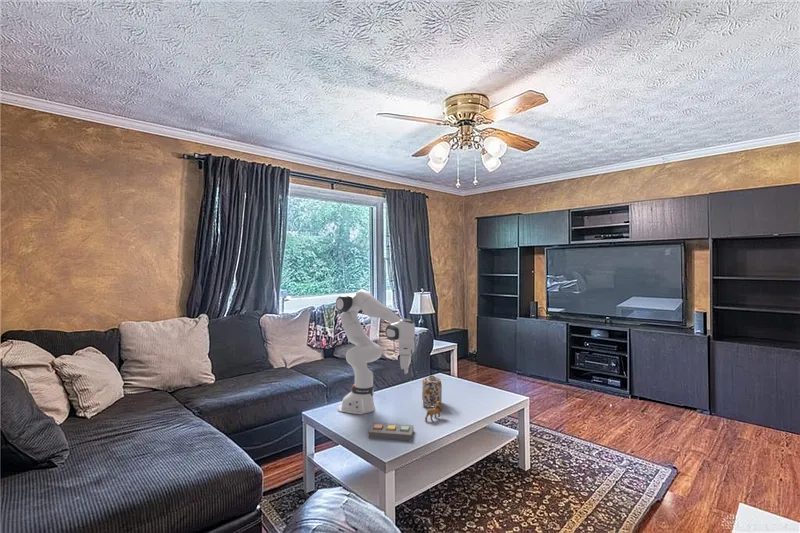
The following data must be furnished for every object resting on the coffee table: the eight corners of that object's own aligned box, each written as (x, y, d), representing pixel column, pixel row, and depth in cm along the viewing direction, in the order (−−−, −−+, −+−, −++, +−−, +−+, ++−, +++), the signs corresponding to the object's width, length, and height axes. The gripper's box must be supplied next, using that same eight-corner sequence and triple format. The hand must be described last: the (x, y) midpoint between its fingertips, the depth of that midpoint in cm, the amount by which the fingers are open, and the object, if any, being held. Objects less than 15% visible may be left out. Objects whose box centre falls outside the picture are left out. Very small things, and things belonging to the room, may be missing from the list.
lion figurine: (436, 414, 232) (436, 399, 232) (444, 416, 229) (444, 401, 229) (422, 422, 220) (422, 406, 220) (430, 424, 217) (430, 408, 217)
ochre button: (387, 435, 202) (387, 428, 202) (388, 432, 206) (388, 425, 206) (394, 436, 202) (394, 428, 202) (395, 432, 206) (395, 425, 206)
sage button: (400, 436, 201) (400, 429, 201) (401, 433, 205) (401, 425, 205) (408, 436, 201) (408, 429, 201) (408, 433, 205) (409, 426, 205)
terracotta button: (373, 434, 203) (373, 427, 203) (375, 431, 207) (375, 424, 207) (381, 435, 202) (381, 427, 202) (382, 431, 206) (382, 424, 206)
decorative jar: (441, 407, 243) (442, 379, 243) (422, 407, 243) (423, 378, 243) (440, 401, 255) (440, 373, 255) (422, 400, 255) (422, 373, 255)
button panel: (368, 437, 199) (368, 431, 199) (372, 428, 211) (372, 422, 211) (411, 440, 197) (411, 434, 197) (413, 430, 208) (413, 425, 208)
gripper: (403, 344, 228) (402, 367, 228) (398, 352, 208) (397, 378, 208) (414, 344, 227) (413, 368, 227) (410, 352, 207) (409, 378, 207)
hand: (405, 373), depth 217 cm, fingers closed
